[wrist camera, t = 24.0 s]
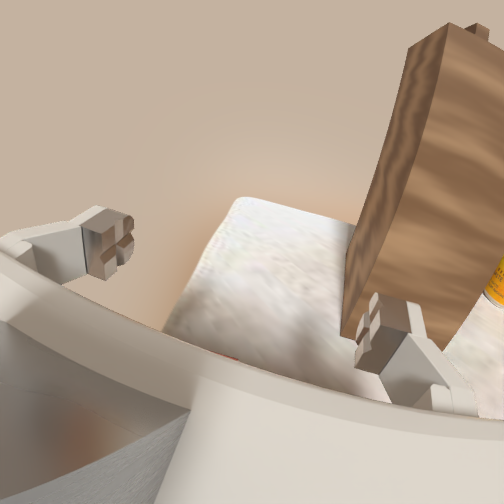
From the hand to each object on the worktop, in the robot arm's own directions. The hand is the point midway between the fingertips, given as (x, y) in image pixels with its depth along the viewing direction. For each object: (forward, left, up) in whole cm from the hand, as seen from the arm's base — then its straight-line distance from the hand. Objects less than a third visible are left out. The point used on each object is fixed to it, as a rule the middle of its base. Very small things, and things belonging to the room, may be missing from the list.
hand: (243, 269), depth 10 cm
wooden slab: (-21, -12, -13) cm, 27 cm away
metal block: (+4, +5, -4) cm, 8 cm away
